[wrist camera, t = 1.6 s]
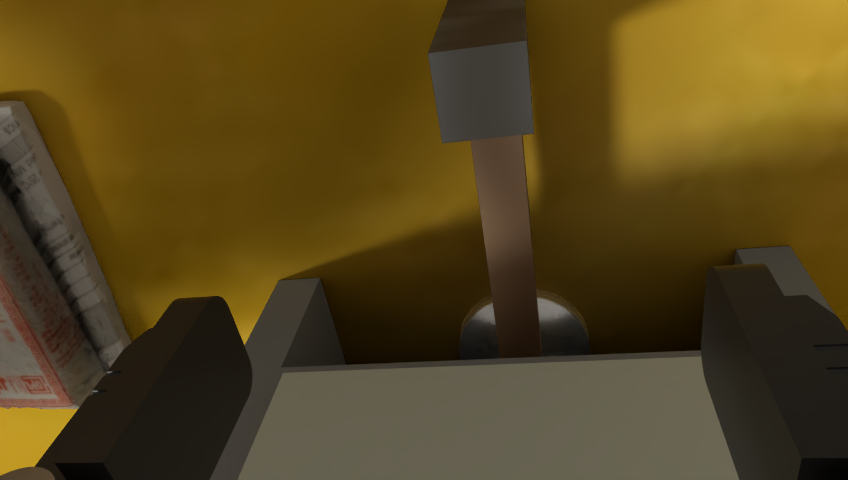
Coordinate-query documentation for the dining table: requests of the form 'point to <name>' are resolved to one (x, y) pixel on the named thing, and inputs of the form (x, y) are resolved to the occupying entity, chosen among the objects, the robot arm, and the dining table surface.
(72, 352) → the packaged product
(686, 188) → the dining table surface
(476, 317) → the steel token
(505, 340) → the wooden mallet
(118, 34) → the dining table surface
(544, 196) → the dining table surface
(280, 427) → the slate cabinet
